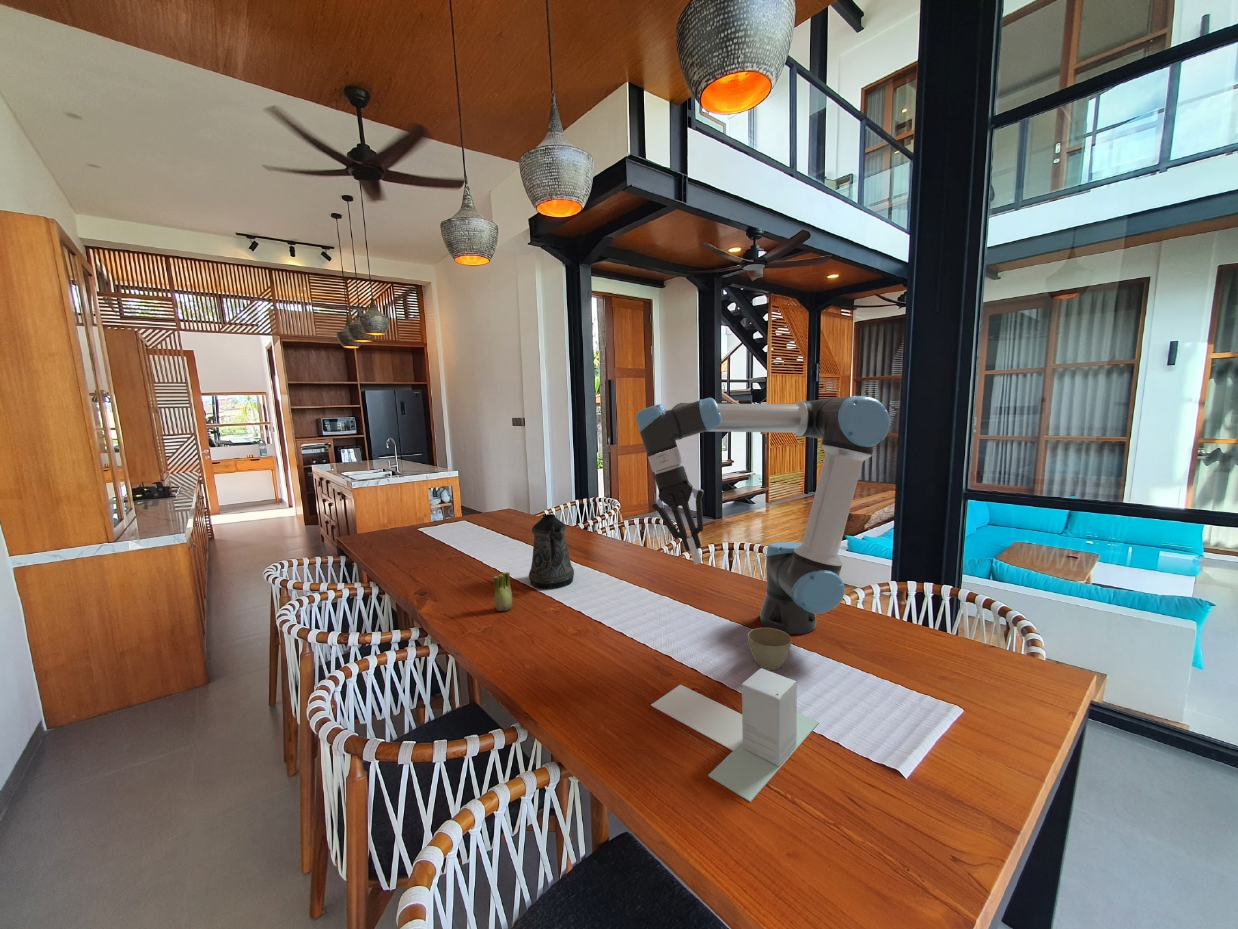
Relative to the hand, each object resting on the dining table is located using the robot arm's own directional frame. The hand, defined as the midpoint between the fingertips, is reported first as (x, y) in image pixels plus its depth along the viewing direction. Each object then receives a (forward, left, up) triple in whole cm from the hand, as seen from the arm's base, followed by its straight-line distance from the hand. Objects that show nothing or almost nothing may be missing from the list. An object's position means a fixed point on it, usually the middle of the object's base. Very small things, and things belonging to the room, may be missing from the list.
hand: (698, 562), depth 116 cm
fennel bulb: (+57, -34, -25) cm, 71 cm away
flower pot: (-16, +3, -25) cm, 30 cm away
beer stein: (+44, -57, -25) cm, 76 cm away
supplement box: (-8, +31, -25) cm, 40 cm away
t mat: (0, +24, -25) cm, 35 cm away
